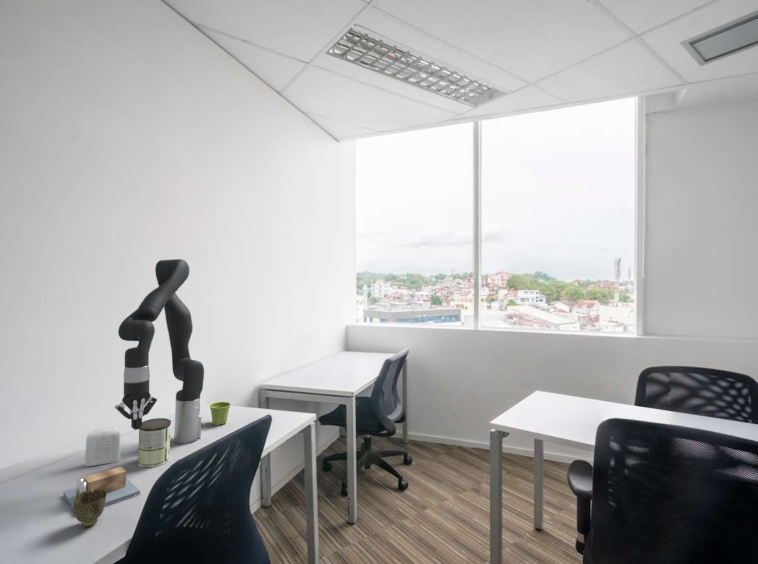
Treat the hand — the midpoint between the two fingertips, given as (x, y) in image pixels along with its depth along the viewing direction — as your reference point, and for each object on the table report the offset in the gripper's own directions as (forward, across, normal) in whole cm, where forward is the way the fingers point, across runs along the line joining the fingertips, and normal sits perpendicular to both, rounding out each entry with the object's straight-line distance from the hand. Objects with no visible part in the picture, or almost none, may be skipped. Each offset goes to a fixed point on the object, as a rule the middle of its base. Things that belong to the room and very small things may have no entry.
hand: (136, 428), depth 139 cm
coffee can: (+16, -8, -5) cm, 19 cm away
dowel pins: (+14, +18, +7) cm, 24 cm away
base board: (+15, +12, +7) cm, 21 cm away
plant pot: (+18, -45, -23) cm, 53 cm away
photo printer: (+16, +5, -17) cm, 23 cm away
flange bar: (+14, +12, +7) cm, 19 cm away
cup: (+15, +20, +21) cm, 32 cm away
